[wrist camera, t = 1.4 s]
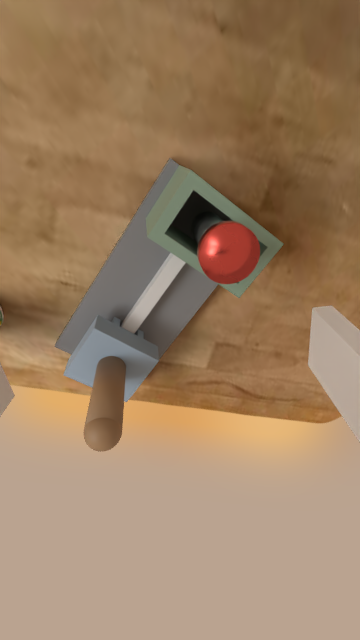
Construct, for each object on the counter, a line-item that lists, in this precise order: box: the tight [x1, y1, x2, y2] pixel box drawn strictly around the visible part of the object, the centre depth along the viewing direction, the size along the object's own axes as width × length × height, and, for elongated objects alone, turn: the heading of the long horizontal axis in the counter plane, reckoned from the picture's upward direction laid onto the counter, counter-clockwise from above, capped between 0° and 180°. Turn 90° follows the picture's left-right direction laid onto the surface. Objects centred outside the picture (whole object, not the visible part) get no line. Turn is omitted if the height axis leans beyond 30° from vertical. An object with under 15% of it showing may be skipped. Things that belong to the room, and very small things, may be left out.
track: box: [54, 158, 284, 359], centre depth 34 cm, size 12×25×10 cm, turn 145°
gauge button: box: [191, 212, 260, 284], centre depth 27 cm, size 4×4×9 cm
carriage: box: [64, 315, 159, 451], centre depth 32 cm, size 8×7×15 cm
